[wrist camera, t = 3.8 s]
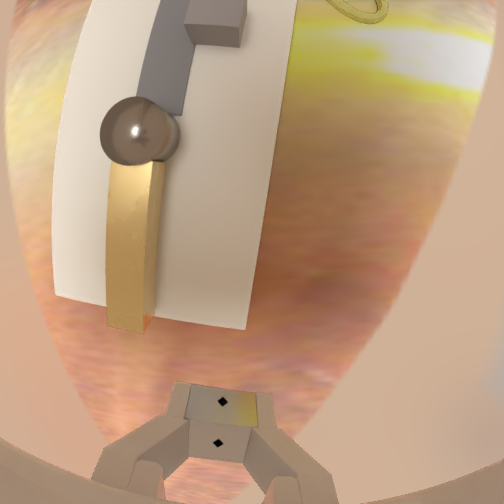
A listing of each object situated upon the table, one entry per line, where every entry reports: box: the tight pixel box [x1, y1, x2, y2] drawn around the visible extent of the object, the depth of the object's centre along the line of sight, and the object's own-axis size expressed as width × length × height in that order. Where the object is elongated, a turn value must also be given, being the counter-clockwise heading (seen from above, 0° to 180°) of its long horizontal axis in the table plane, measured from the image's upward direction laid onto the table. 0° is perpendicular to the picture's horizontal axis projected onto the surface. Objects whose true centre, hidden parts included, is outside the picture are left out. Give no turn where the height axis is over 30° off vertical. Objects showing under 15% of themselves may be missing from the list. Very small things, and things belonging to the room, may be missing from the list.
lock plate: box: [52, 0, 297, 330], centre depth 16 cm, size 24×15×4 cm, turn 171°
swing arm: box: [100, 96, 180, 334], centre depth 17 cm, size 13×4×4 cm, turn 171°
